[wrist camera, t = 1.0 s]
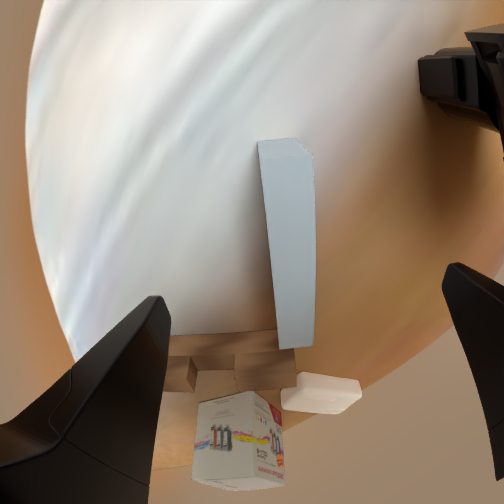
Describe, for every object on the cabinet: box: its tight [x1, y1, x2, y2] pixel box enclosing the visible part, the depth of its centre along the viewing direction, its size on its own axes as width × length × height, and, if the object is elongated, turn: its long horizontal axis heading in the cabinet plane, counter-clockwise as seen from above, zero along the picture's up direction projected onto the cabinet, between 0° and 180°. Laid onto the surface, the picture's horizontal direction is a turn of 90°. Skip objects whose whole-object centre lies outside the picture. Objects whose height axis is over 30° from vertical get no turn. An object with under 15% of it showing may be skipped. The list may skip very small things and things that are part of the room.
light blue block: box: [257, 138, 316, 350], centre depth 17 cm, size 2×13×5 cm, turn 7°
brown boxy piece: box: [163, 329, 297, 392], centre depth 24 cm, size 14×2×5 cm, turn 97°
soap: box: [280, 372, 362, 414], centre depth 30 cm, size 9×6×3 cm, turn 67°
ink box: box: [192, 391, 285, 491], centre depth 29 cm, size 9×9×12 cm
